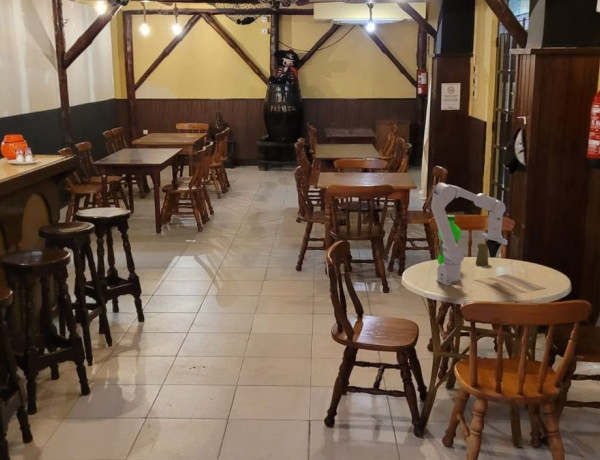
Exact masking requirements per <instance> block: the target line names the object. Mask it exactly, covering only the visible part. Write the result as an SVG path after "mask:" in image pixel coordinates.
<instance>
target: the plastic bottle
mask: <svg viewBox="0 0 600 460" xmlns="http://www.w3.org/2000/svg"><path fill="white" fill-rule="evenodd" d="M446 215H447V218H448V221H449V224H450V227H451V230H452V233H453V236H454V239H455V242H456V243H457V245H458V246H459V240H460V239H461V237H462V230H461V228H460V227H459V226H458V225H457V224H456V223H455V220H456V215H453V214H446ZM437 235H438V238H439V239H440V244H439V245H440V246H439V255H438V256H437V263H438V264H439V265H440V264H442V263H444V260H445V257H444V256H443V247H442V244H443V241H442V238H441V235H440V232H439V230H437Z"/></svg>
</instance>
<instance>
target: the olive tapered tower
mask: <svg viewBox="0 0 600 460" xmlns="http://www.w3.org/2000/svg"><path fill="white" fill-rule="evenodd" d="M477 248H478V250H477V256H476V258H475V259H476V260H475V265H476V266H477V267H485V266H489V255H488V254H489V249H488V246H487V244H486V241H480V242H478V243H477Z"/></svg>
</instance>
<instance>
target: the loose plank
mask: <svg viewBox="0 0 600 460" xmlns="http://www.w3.org/2000/svg"><path fill="white" fill-rule="evenodd" d="M495 277H498V278H500V279H503V280H505V281H508V282H510V283H513V284H515V285H518V286H520V287H523V288H525V289H528V290H530V291H531V292H535V291H540V290H545V289H546V287H543V286H541V285H538V284H535V283H533V282H530V281H527V280H525V279H524V278H523V279H522V278H520V277H517V276H514V275H513V274H509V273H506V274H502V275H497V276H495Z"/></svg>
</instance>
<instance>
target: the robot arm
mask: <svg viewBox="0 0 600 460" xmlns="http://www.w3.org/2000/svg"><path fill="white" fill-rule="evenodd" d="M431 192H432V197H431V198H432V199H431V204H430V208H431V211H432V214H433V218H434V221H435V223H436V226H437V229H438V231H439V232H440V235H441V238H442V241H443V244H442V247H443V256H444V257H445V260H444V263H442V264H439V265H438V266H437V279H436V280H435V281H437V282H438V283H441V284H443V285H445V286H451V285H457V283H455V282H458V281H460V280H461V271H462V262H463V261H464V257H465V255H464V251H462V250H461V249H460V246H459V244H458V245H457V243H456V242H455V239H454V236H453V233H452V230H451V227H450V224H449V221H448V218H447V215H448V214H447V211H446V209H445V208H446V207H447V206H448V205H449V203H451V202H452V201H454V199H458V198H459V197H461V198H464V199H467V200H469V201H471V202H473V203H474V205H475V206H476V207H479V208H481V209H484V210H486V211H488V213H489V214H488V222H487V223H488V225H487V233H486V232H483V233H481V234H480V235H481V236H480V238H482V239H486V241H485V242H486V244H487V246H488V249H487V250H488V254H489V257H490V258H492V259H493V258H496V256H497V254H498V250H499V249H500V247H501V246H507V245H508V239H506V238H503V235H502V229H503V216H504V213H505V212H506V209H507V207H506V205H505V202H503V201H501V200H499V199H497V198H496V197H495V196H494V197H493V196H492V197H491V196H489V195H488V194H487V193H484V192H483V193H481V192H480V193H477V194H475V193H473V192H471V191H468V190H466V189H464V188H462V187H459V186H458V185H452V184H449V183H447V184H446V182H438V183H437V184H435V186H434V188H433V189H432V190H431Z"/></svg>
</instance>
